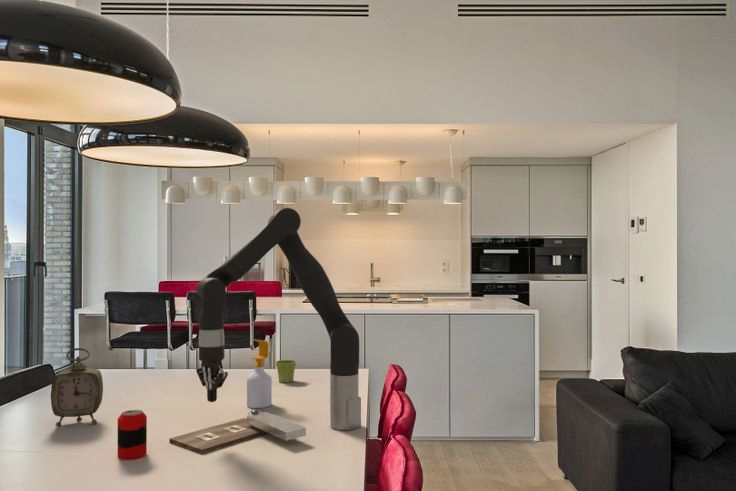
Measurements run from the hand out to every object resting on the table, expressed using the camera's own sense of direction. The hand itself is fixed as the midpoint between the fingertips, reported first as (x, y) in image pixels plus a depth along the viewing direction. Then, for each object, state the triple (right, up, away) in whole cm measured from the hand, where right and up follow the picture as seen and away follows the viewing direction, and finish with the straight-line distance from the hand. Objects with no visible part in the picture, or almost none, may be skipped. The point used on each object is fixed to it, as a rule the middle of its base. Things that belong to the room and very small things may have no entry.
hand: (211, 401), depth 180 cm
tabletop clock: (-49, -12, +18) cm, 54 cm away
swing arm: (+18, -10, +5) cm, 21 cm away
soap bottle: (+7, -12, +41) cm, 43 cm away
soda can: (-19, -12, -13) cm, 26 cm away
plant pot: (+11, -13, +81) cm, 83 cm away
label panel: (+3, -12, +4) cm, 13 cm away
